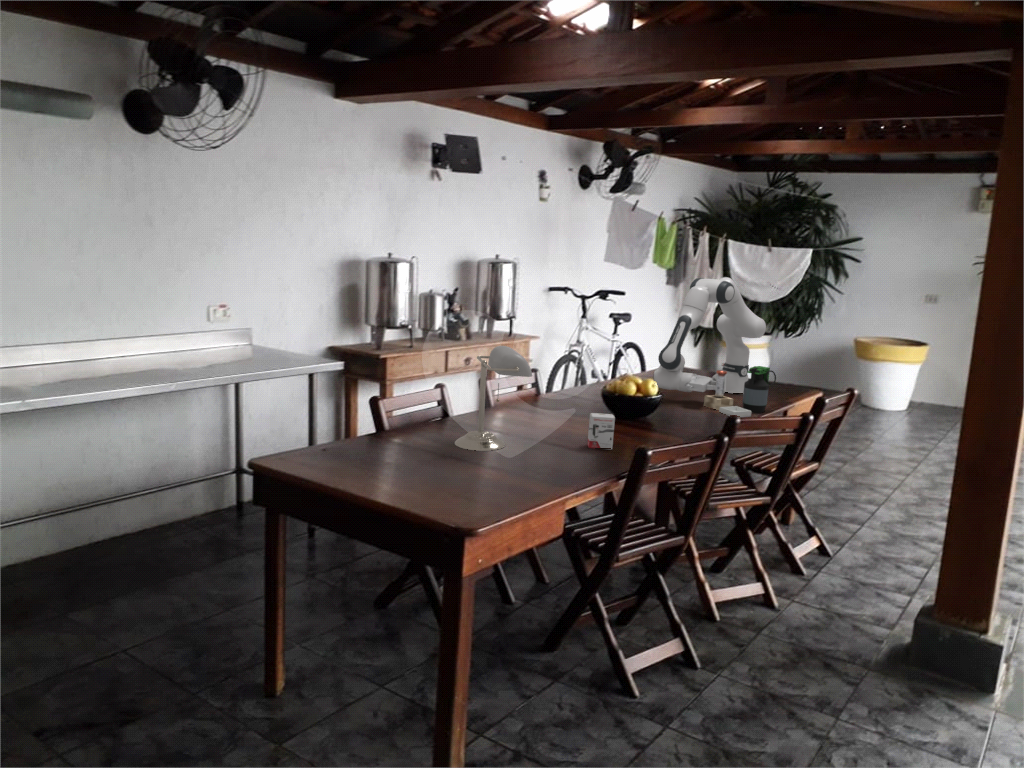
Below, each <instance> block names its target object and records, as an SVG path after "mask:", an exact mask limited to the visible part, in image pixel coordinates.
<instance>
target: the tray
mask: <svg viewBox="0 0 1024 768" xmlns="http://www.w3.org/2000/svg"><path fill="white" fill-rule="evenodd" d="M719 412H721V413H723V414H722V415H724V414H726V415H725V416H728V417H730V415H737V416H740V417H739V418H748V417H749V418H750V417H752V412H751V411H750V410H747V409H744V408H743V407H740V406H738V405H733V406H731V407H720V408H719V411H718V413H719ZM721 413H720V414H721Z"/></svg>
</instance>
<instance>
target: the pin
mask: <svg viewBox="0 0 1024 768" xmlns="http://www.w3.org/2000/svg"><path fill="white" fill-rule="evenodd" d="M715 374H717V382H716V386H717V390H715V394H714V395H715V398H723V396H724V394H725V392H724V385H725V376H726V374H727V371H723V370H722V369H720V370H719V369H718V370H716V372H715Z"/></svg>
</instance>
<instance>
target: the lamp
mask: <svg viewBox="0 0 1024 768" xmlns="http://www.w3.org/2000/svg"><path fill="white" fill-rule="evenodd" d="M476 359H477V361H479V362H480V364H481V365H480V382H479V383H480V384H479V401H478V402H479V403H478V404H479V407H478V421H477V423H478V425H477V430H472V431H467V433H466V434H464V435H463V436H460V437H459V438H457V439H456V440H454V445H455V446H456V447H458V448H460V449H463V450H467V449H468V451H474V450H476V452H477V451H478V452H492V451H491V450H493V451H498V450H497V449H499V450H502V449H504V448H505V447H506V446H505V444H506V443H505V442H504V440H502V439H500V438H499V437H497V436H496V435H495V434H494V433H493V432H490V431H486V430H485V429H484V427H485V407H486V406H485V404H486V390H487V389H486V388H487V387H486V386H487V370H488V371H490V372H494V373H496V374H497V375H498V377H500V375H501V376H507V377H509V376H510V377H521V378H523V377H525V378H526V377H527V378H530V377H531V378H532V377H533V372H532V369H531V366H530V364H529V362H528V360H527V359H526V358H525V357H524V356H523V355H521V353H519V352H518V351H516V350H515V349H514V348H513V347H510V346H507V345H497V346H495V347H494V348H492V349H491V351H490V353H489V355H477V356H476ZM485 359H488V362H487V360H485ZM497 387H498V388H497V399H496V400H495V401H496V402H497V403H499V402H500V399H499V393H500V384H497ZM484 430H485V431H484ZM503 447H504V448H503ZM501 448H502V449H501Z"/></svg>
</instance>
